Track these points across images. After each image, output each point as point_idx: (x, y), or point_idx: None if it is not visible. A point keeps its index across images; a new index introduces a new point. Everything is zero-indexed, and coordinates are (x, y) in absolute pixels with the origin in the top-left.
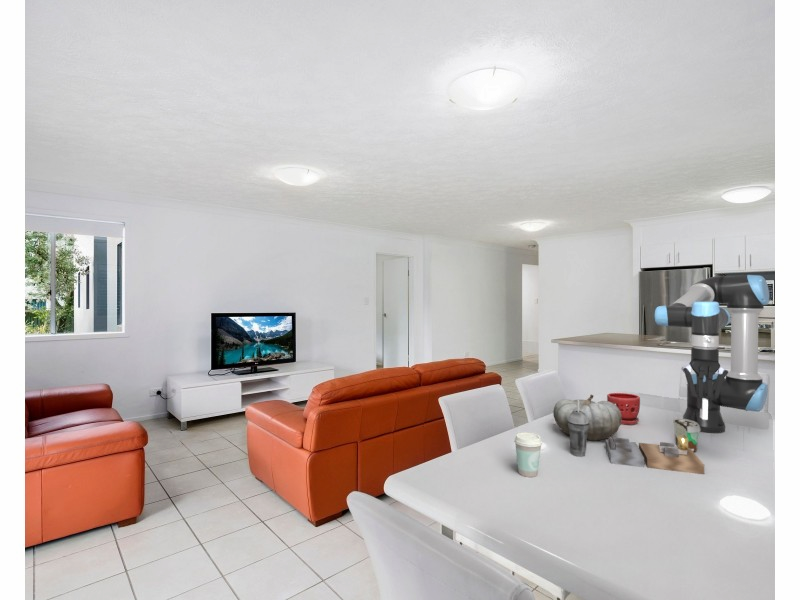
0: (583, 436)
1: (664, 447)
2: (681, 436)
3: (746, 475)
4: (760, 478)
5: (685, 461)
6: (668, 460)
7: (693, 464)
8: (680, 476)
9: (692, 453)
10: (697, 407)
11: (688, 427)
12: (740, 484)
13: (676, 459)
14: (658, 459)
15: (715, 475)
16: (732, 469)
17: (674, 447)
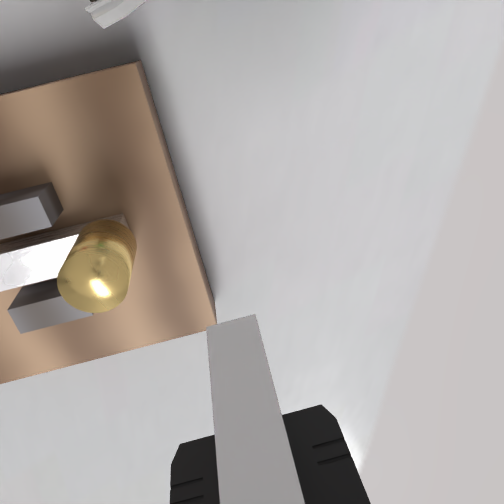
0: None
1: (11, 313)
2: (81, 273)
3: (379, 215)
4: (425, 220)
5: (137, 331)
6: (64, 363)
7: (172, 337)
8: (130, 376)
9: (159, 181)
10: (182, 449)
11: (97, 7)
12: (333, 330)
13: (95, 328)
14: (20, 375)
15: (256, 289)
16: (338, 165)
17: (58, 247)
